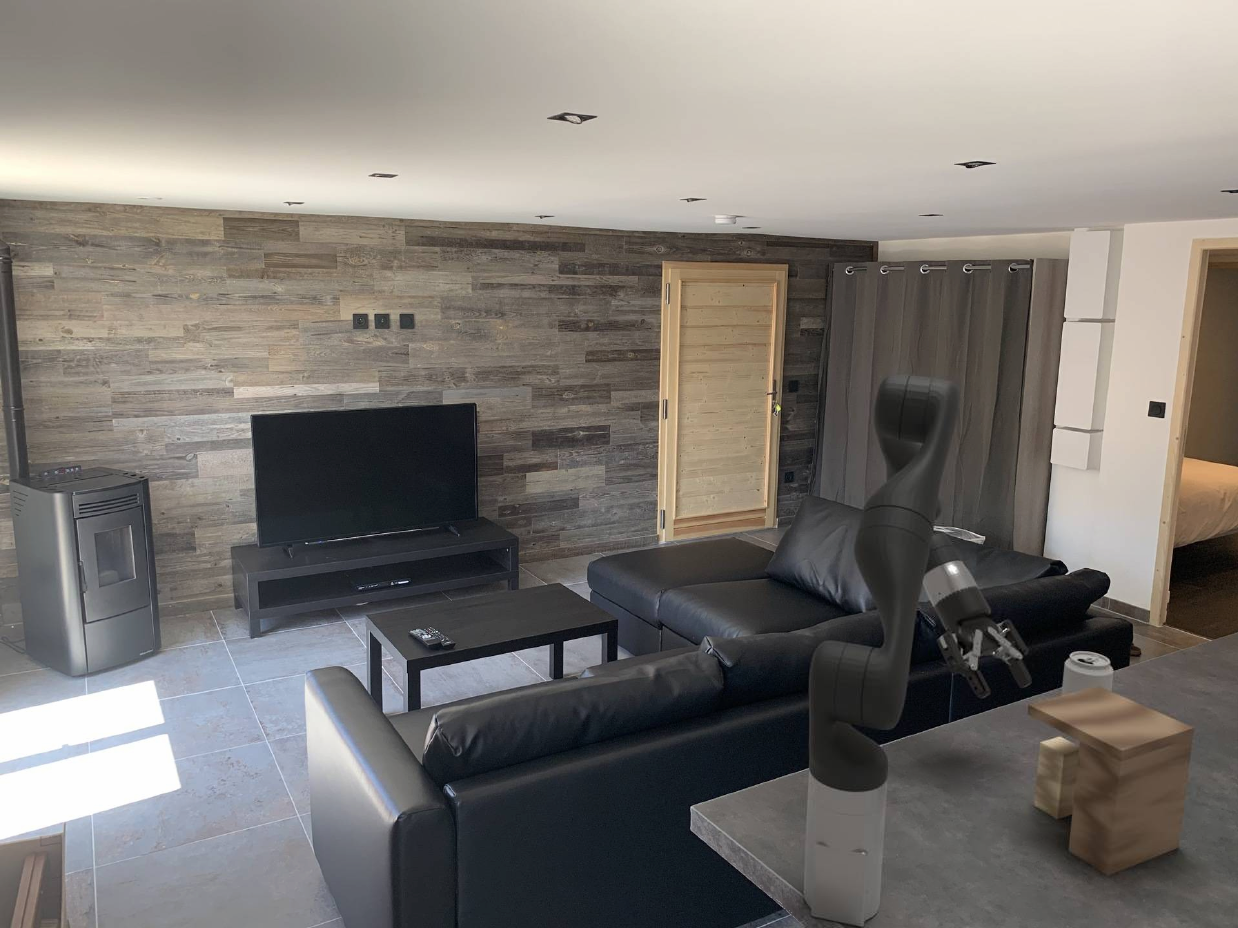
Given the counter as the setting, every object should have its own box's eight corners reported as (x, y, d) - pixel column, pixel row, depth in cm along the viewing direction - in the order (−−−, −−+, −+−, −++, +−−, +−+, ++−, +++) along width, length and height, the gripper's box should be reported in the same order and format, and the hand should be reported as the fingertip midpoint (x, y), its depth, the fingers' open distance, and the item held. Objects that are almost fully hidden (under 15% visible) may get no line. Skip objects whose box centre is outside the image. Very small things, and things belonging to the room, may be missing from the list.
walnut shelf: (1017, 818, 138) (1028, 704, 134) (1086, 795, 144) (1097, 685, 140) (1107, 875, 125) (1122, 750, 121) (1178, 847, 131) (1194, 727, 127)
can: (1049, 717, 169) (1055, 652, 166) (1080, 709, 172) (1086, 645, 169) (1086, 736, 162) (1093, 668, 160) (1117, 727, 165) (1124, 661, 163)
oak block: (1034, 805, 141) (1040, 742, 139) (1053, 798, 143) (1059, 736, 141) (1057, 819, 138) (1063, 754, 136) (1076, 812, 139) (1083, 748, 137)
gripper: (934, 591, 148) (986, 690, 141) (1002, 578, 155) (1055, 672, 147) (908, 613, 154) (956, 709, 146) (974, 600, 160) (1024, 691, 153)
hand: (1006, 690), depth 147 cm, fingers open, 8 cm apart
